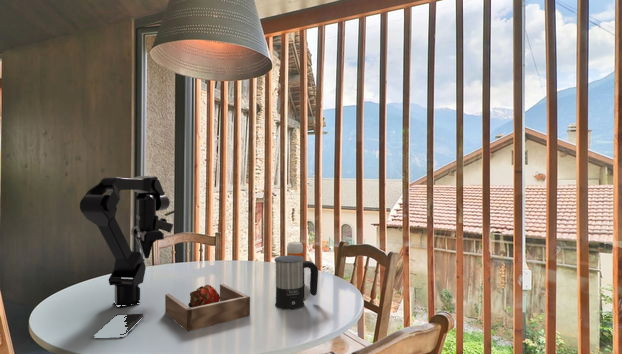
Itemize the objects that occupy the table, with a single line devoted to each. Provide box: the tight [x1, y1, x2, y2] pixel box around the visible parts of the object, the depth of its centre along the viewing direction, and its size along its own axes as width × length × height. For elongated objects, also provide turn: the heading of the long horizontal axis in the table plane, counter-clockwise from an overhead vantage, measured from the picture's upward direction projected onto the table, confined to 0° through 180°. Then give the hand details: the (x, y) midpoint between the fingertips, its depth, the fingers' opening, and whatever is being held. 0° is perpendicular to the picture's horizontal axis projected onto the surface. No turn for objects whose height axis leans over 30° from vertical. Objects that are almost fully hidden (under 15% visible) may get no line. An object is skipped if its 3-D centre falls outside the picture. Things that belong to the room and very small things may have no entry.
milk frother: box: [274, 255, 319, 311], centre depth 125 cm, size 14×16×15 cm
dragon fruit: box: [187, 284, 220, 308], centre depth 115 cm, size 8×8×12 cm
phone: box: [115, 313, 144, 335], centre depth 103 cm, size 8×1×15 cm
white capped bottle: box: [286, 241, 304, 258], centre depth 147 cm, size 6×6×15 cm
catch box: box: [164, 283, 251, 332], centre depth 113 cm, size 18×17×6 cm
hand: (146, 258), depth 133 cm, fingers closed
